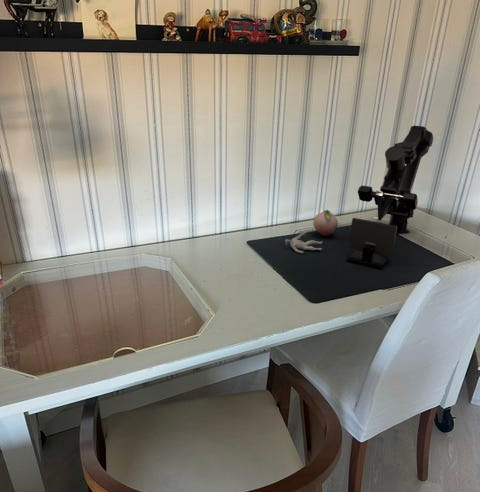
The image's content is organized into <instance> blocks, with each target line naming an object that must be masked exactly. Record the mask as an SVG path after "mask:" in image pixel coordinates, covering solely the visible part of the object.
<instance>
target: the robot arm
mask: <svg viewBox="0 0 480 492" xmlns="http://www.w3.org/2000/svg"><path fill="white" fill-rule="evenodd" d="M433 142H434V134H433V132H431V131H429V129H427V127H425V126H422V125H411V127H410V129H409V130H408V134H407V135H406V136H405V138H404V139H403V141H400V142H397V143H396V142H395V143H394V145H393V146H390V147H389V148H387V149H386V150H385V151H384V157H385V164H386V168H387V171H386V174H385V175H384V177H383V182H382V185H381V186H380V188H379V190H376V191H374V190H373V186H367V185H360V186H359V187H358V189H357V195H358V199H359V201H361V202H365V203H366V202H367V203H369V202H372V200H373V201H374V205H376V206H377V220H378V221H382V220H383V219H384V217H385V216H386V215H389V216H390V217H389V223H388V224H389V225H394V226H397V231H396V235H397V234H404V233H409V232H410V230H408V229H407V227H408V221H409V219H410V218H413V217H414V212H415V210H417V207H418V204H419V203H418V202H419V201H418V195H417V193H414V192H413V193H412V190H413V189H412V188H413V186H414V182H415V180H416V177H417V173H418V170H419V167H420V163H421V160H422V158H423V157H424V156H425V155H426V154H428V153H429V151H430V148H431V147H432V146H433Z"/></svg>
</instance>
